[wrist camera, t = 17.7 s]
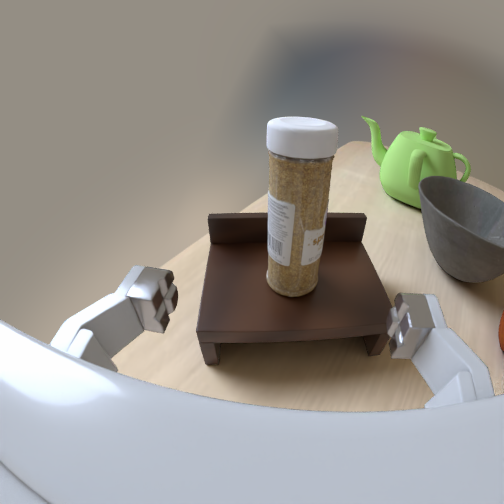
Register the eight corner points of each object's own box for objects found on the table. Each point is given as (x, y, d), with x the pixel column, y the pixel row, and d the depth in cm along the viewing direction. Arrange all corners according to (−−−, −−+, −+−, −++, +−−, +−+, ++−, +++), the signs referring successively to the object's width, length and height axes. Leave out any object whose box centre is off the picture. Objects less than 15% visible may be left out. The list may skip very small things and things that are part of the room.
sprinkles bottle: (323, 296, 23) (350, 130, 15) (268, 301, 22) (272, 128, 14) (310, 261, 26) (325, 115, 18) (262, 264, 26) (262, 114, 18)
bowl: (506, 335, 22) (548, 273, 16) (385, 280, 31) (409, 206, 25) (500, 257, 33) (521, 207, 27) (411, 218, 43) (425, 164, 37)
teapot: (468, 218, 43) (488, 152, 35) (392, 218, 43) (409, 135, 34) (423, 178, 58) (434, 124, 49) (353, 174, 57) (360, 111, 49)
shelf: (205, 364, 23) (188, 304, 18) (216, 273, 33) (208, 213, 28) (380, 354, 23) (411, 295, 18) (350, 270, 33) (364, 212, 28)
